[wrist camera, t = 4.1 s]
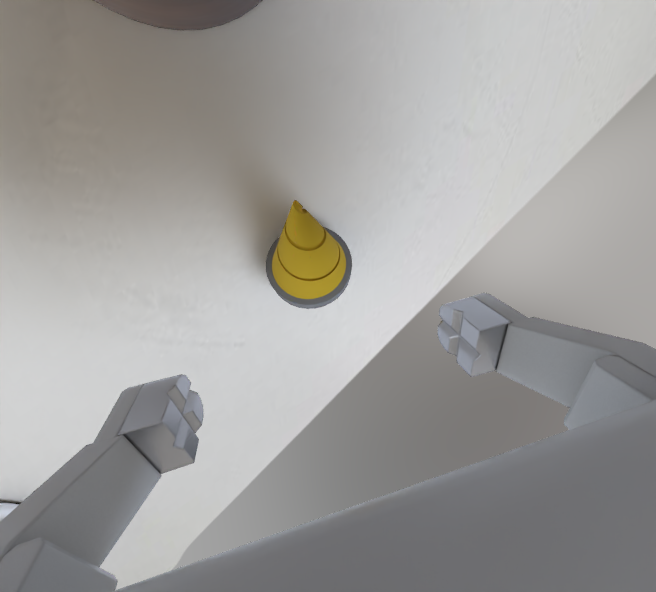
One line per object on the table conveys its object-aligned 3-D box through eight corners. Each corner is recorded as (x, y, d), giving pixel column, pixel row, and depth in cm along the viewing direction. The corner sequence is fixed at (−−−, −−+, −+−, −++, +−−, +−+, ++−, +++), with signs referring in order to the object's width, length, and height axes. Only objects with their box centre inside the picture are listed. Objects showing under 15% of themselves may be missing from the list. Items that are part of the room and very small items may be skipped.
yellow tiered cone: (263, 289, 20) (199, 214, 10) (306, 238, 21) (285, 127, 11) (320, 331, 19) (307, 292, 9) (362, 275, 20) (389, 188, 10)
